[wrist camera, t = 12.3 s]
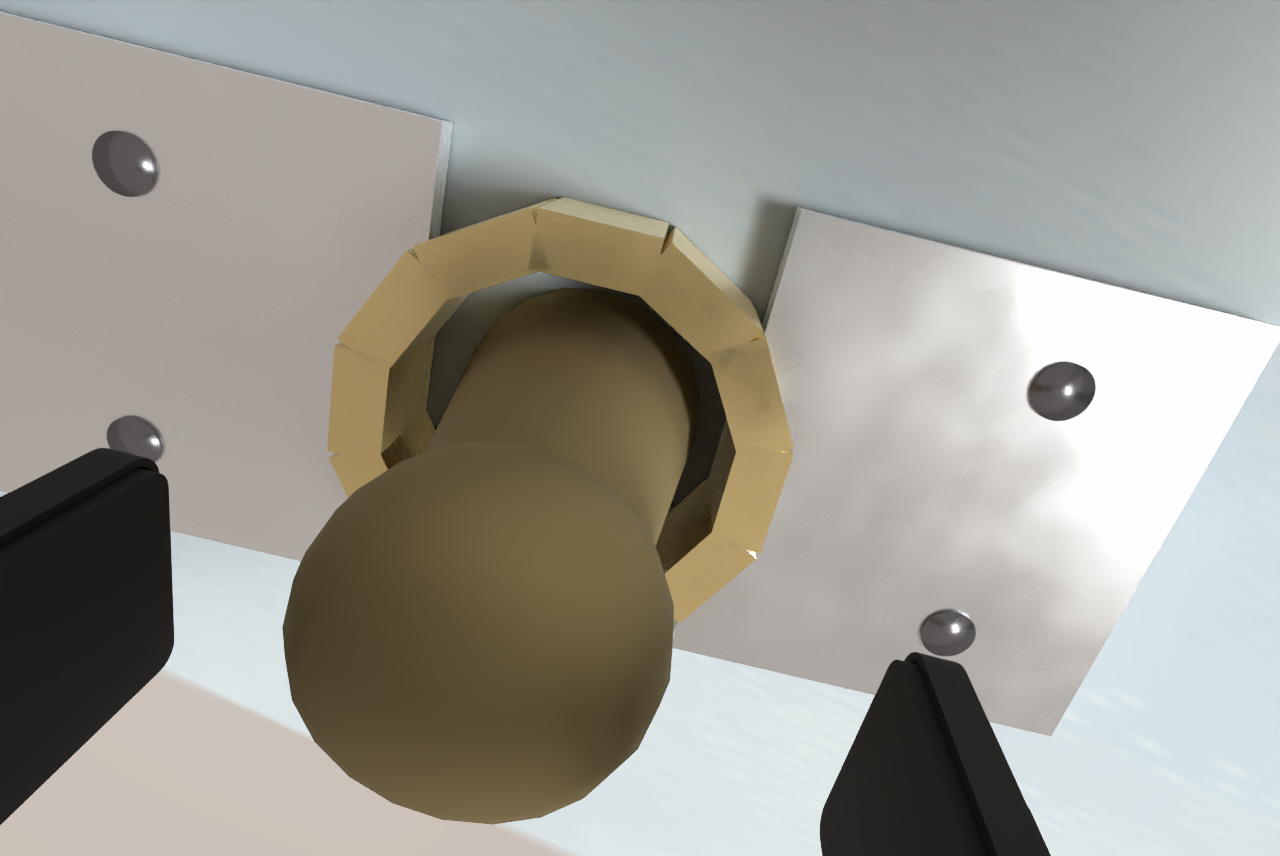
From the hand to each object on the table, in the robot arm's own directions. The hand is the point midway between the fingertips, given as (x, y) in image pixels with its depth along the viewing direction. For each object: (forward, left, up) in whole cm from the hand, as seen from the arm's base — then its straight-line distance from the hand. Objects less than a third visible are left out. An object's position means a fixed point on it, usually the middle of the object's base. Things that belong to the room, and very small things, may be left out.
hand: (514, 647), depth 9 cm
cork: (0, 0, -10) cm, 10 cm away
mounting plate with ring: (+1, -1, -10) cm, 10 cm away
